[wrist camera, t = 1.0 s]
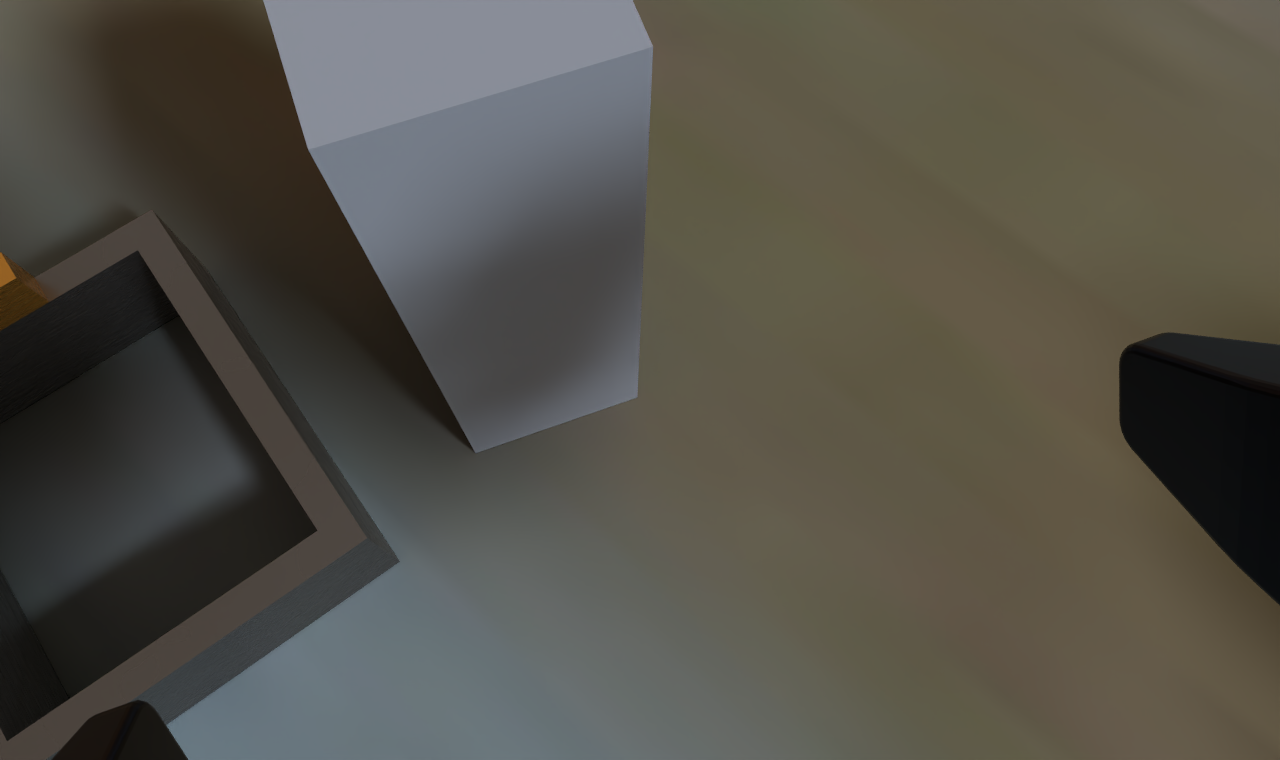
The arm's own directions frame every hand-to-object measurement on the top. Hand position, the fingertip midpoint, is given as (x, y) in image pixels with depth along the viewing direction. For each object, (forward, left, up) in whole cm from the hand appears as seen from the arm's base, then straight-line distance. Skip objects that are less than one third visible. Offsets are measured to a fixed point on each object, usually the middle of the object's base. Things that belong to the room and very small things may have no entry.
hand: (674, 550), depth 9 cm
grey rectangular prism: (+7, +4, -14) cm, 16 cm away
